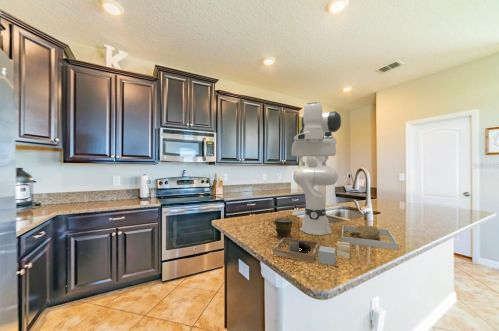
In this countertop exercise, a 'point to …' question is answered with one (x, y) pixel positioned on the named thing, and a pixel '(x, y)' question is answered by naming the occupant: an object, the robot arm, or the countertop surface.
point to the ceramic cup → (283, 227)
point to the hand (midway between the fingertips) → (313, 165)
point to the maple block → (343, 249)
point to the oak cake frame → (295, 254)
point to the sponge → (365, 233)
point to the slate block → (327, 255)
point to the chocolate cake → (304, 246)
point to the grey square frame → (373, 243)
